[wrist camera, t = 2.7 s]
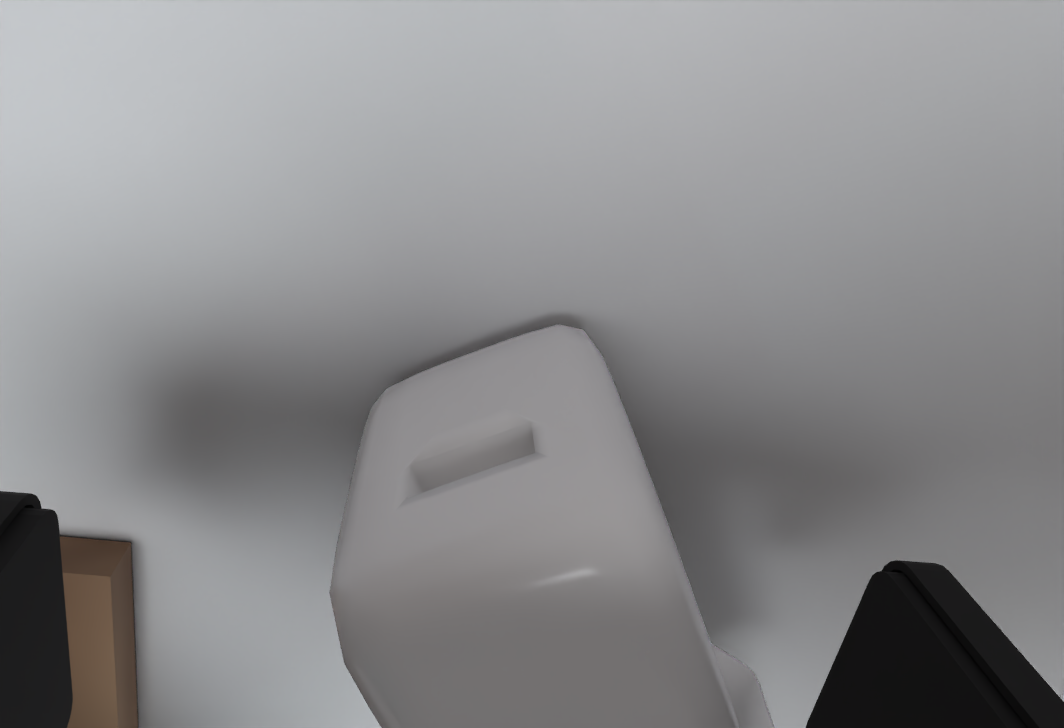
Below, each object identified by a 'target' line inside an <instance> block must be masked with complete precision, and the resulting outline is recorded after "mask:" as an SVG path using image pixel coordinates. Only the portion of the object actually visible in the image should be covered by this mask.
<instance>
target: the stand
mask: <svg viewBox="0 0 1064 728" xmlns="http://www.w3.org/2000/svg"><path fill="white" fill-rule="evenodd" d="M60 547H61V559H62V572H63V584H64V596H65V608H66V620H67V632H68V644H69V656H70V668H71V680H72V692H73V703H72V711H71V715H70V719H69V723H68V726H67V728H138V715H137V689H136V663H135V637H134V610H133V584H132V558H131V543H130V542H119V541H107V540H96V539H85V538H74V537H62V536H60Z"/></svg>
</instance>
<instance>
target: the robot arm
mask: <svg viewBox="0 0 1064 728" xmlns="http://www.w3.org/2000/svg"><path fill="white" fill-rule="evenodd" d="M72 703H73V692H72V680H71V668H70V656H69V644H68V632H67V620H66V608H65V596H64V584H63V572H62V559H61V547H60V535H59V523H58V517H57V514H56V513H55V511H53V510H51V509H41V504H40V501H39V499H38V497H37V496H36V495H33V494H29V493H16V492H3V491H0V728H67V726H68V723H69V719H70V715H71V711H72ZM806 728H1064V702H1063V701H1062V700H1061V699H1060V697H1059V696H1058V695H1057V694H1056V693H1055V692H1054V691H1053V689H1052V688H1051V687H1050V686H1049V685H1048V684H1047V683H1046V681H1045V680H1044V679H1043V678H1042V677H1041V676H1040V675H1039V673H1038V672H1037V671H1036V670H1035V669H1034V668H1033V667H1032V665H1031V664H1030V663H1029V662H1028V661H1027V660H1026V659H1025V657H1024V656H1023V655H1022V654H1021V653H1020V652H1019V651H1018V649H1017V648H1016V647H1015V646H1014V645H1013V644H1012V643H1011V641H1010V640H1009V639H1008V638H1007V637H1006V636H1005V635H1004V633H1003V632H1002V631H1001V630H1000V629H999V628H998V627H997V625H996V624H995V623H994V622H993V621H992V620H991V619H990V617H989V616H988V615H987V614H986V613H985V612H984V611H983V609H982V608H981V607H980V606H979V605H978V604H977V603H976V601H975V600H974V599H973V598H972V597H971V596H970V595H969V593H968V592H967V591H966V590H965V589H964V588H963V587H962V585H961V584H960V583H959V582H958V581H957V580H956V579H955V577H954V576H953V575H952V574H951V573H950V572H949V571H948V570H947V569H946V568H945V567H943V566H942V565H939V564H936V563H923V562H910V561H891V562H889V563H888V564H887V565H885V566H884V568H883V569H882V571H880V572H876V573H875V574H874V575H873V576H872V577H871V579H870V581H869V583H868V585H867V588H866V590H865V592H864V594H863V597H862V599H861V601H860V603H859V606H858V608H857V610H856V613H855V615H854V617H853V619H852V622H851V624H850V626H849V629H848V631H847V633H846V635H845V638H844V640H843V642H842V645H841V647H840V649H839V651H838V654H837V656H836V658H835V661H834V663H833V665H832V667H831V670H830V672H829V674H828V677H827V679H826V681H825V683H824V686H823V688H822V690H821V693H820V695H819V697H818V699H817V702H816V704H815V706H814V709H813V711H812V713H811V715H810V718H809V720H808V722H807V726H806Z"/></svg>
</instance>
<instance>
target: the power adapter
mask: <svg viewBox="0 0 1064 728" xmlns="http://www.w3.org/2000/svg"><path fill="white" fill-rule="evenodd" d="M330 598H331V602H332V607H333V612H334V617H335V621H336V626H337V631H338V635H339V640H340V645H341V650H342V654H343V659H344V663H345V665H346V667H347V669H348V671H349V672H350V674H351V676H352V678H353V680H354V681H355V683H356V685H357V687H358V688H359V690H360V692H361V694H362V696H363V697H364V699H365V701H366V703H367V705H368V706H369V708H370V710H371V711H372V713H373V715H374V716H375V718H376V719H377V721H378V723H379V724H380V726H381V727H382V728H774V725H773V722H772V719H771V716H770V713H769V710H768V707H767V704H766V701H765V698H764V695H763V692H762V689H761V686H760V684H759V682H758V680H757V678H756V676H755V674H754V672H753V671H752V670H751V669H750V668H749V667H747V666H746V665H745V664H743V663H742V662H740V661H739V660H738V659H736V658H735V657H733V656H731V655H730V654H728V653H726V652H725V651H723V650H721V649H719V648H718V647H716V646H714V645H712V644H711V641H710V639H709V636H708V633H707V630H706V627H705V625H704V622H703V619H702V616H701V613H700V611H699V608H698V605H697V602H696V599H695V597H694V594H693V591H692V588H691V586H690V583H689V580H688V577H687V574H686V572H685V569H684V566H683V563H682V561H681V558H680V555H679V552H678V549H677V547H676V544H675V541H674V538H673V536H672V533H671V530H670V528H669V525H668V522H667V519H666V517H665V514H664V511H663V509H662V506H661V503H660V501H659V498H658V495H657V493H656V490H655V487H654V485H653V482H652V479H651V477H650V474H649V471H648V469H647V466H646V463H645V461H644V458H643V455H642V453H641V450H640V448H639V445H638V442H637V440H636V437H635V434H634V432H633V429H632V427H631V424H630V422H629V419H628V417H627V414H626V412H625V409H624V407H623V404H622V401H621V399H620V396H619V394H618V391H617V389H616V386H615V384H614V381H613V379H612V376H611V374H610V372H609V369H608V367H607V365H606V363H605V361H604V359H603V356H602V354H601V353H600V352H599V350H598V349H597V348H596V346H595V345H594V343H593V342H592V341H591V339H590V338H589V337H588V335H587V334H586V333H585V331H584V330H583V329H578V328H573V327H569V326H564V325H559V324H558V325H554V326H550V327H546V328H543V329H539V330H535V331H531V332H528V333H525V334H522V335H519V336H516V337H513V338H510V339H507V340H504V341H501V342H499V343H496V344H493V345H490V346H488V347H485V348H482V349H480V350H477V351H474V352H471V353H469V354H466V355H463V356H461V357H458V358H455V359H452V360H450V361H447V362H444V363H442V364H439V365H437V366H434V367H432V368H429V369H427V370H424V371H422V372H420V373H417V374H415V375H413V376H411V377H409V378H407V379H405V380H403V381H401V382H399V383H397V384H395V385H393V386H391V387H389V388H387V389H386V390H385V391H384V392H383V393H382V395H381V396H380V397H379V398H378V400H377V401H376V402H375V403H374V405H373V406H372V407H371V410H370V413H369V416H368V419H367V421H366V424H365V427H364V431H363V435H362V438H361V442H360V446H359V449H358V453H357V458H356V462H355V466H354V470H353V475H352V479H351V483H350V488H349V492H348V496H347V500H346V505H345V509H344V513H343V518H342V523H341V528H340V533H339V538H338V542H337V547H336V552H335V559H334V566H333V573H332V580H331V586H330Z"/></svg>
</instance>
